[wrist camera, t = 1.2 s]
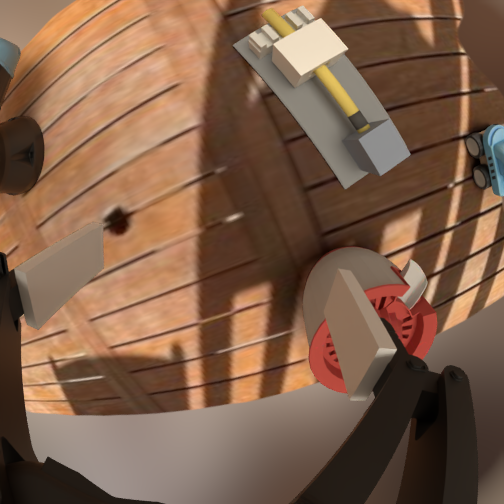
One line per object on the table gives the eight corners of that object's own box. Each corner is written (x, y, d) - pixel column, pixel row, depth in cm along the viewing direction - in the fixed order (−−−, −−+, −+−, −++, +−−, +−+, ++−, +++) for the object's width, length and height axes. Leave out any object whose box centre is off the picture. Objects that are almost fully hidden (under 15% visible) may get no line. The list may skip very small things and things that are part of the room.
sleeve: (271, 61, 32) (273, 44, 25) (312, 37, 30) (320, 18, 23) (294, 88, 33) (301, 75, 26) (334, 64, 31) (348, 48, 25)
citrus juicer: (411, 263, 42) (478, 331, 23) (343, 335, 47) (372, 424, 29) (348, 202, 39) (412, 252, 20) (275, 289, 45) (279, 383, 26)
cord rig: (233, 46, 32) (225, 24, 24) (300, 8, 29) (306, -18, 21) (344, 188, 38) (362, 199, 31) (405, 146, 35) (432, 148, 28)
